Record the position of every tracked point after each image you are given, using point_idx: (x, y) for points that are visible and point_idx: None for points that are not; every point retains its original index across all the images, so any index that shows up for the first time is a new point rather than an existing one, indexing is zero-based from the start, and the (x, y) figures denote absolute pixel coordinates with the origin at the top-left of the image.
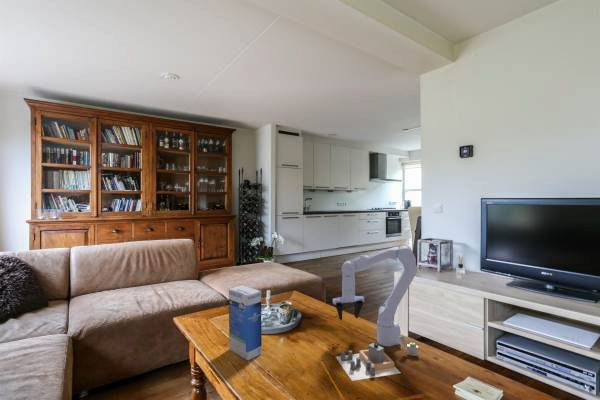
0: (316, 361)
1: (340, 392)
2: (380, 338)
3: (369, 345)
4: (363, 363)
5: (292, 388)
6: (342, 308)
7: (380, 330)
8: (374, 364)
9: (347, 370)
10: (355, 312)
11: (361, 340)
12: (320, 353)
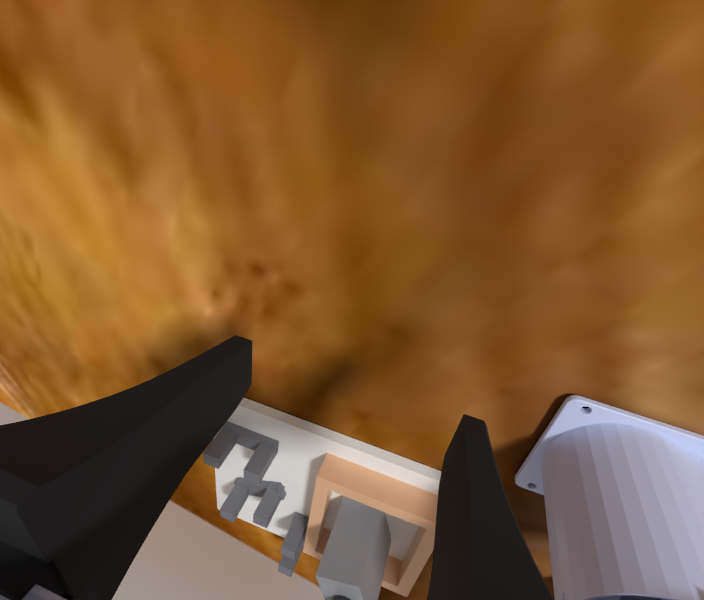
0: (129, 354)
1: (175, 498)
2: (545, 509)
3: (317, 579)
4: (309, 490)
5: (46, 414)
6: (129, 558)
7: (553, 577)
8: (316, 554)
9: (224, 475)
10: (454, 491)
11: (488, 340)
12: (158, 313)
